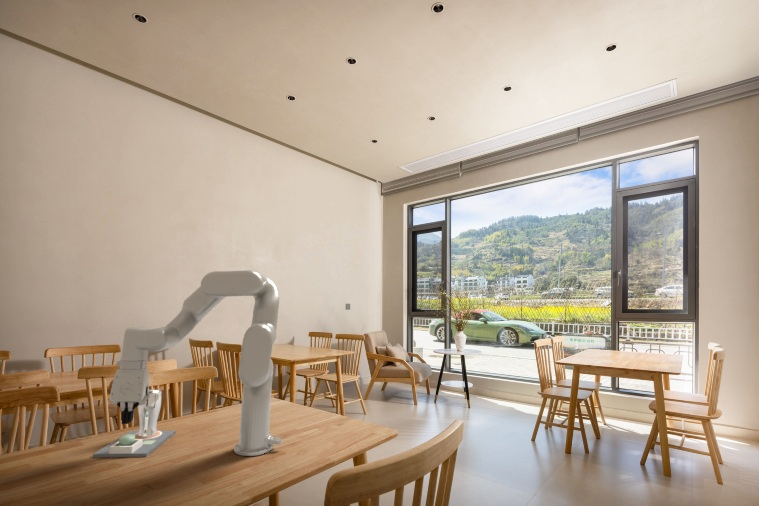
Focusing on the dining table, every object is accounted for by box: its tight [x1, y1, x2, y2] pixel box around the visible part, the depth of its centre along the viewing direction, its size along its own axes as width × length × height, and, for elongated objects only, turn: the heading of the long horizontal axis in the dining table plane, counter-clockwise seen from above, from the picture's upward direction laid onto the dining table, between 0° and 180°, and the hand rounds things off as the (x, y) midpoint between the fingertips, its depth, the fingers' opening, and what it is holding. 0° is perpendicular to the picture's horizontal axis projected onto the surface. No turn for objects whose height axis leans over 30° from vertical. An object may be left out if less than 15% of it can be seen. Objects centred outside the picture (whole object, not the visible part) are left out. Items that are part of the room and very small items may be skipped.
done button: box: [118, 434, 135, 446], centre depth 127 cm, size 4×4×2 cm
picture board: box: [92, 429, 177, 458], centre depth 134 cm, size 16×22×3 cm
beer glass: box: [137, 389, 162, 438], centre depth 141 cm, size 7×7×15 cm
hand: (126, 422), depth 128 cm, fingers closed
